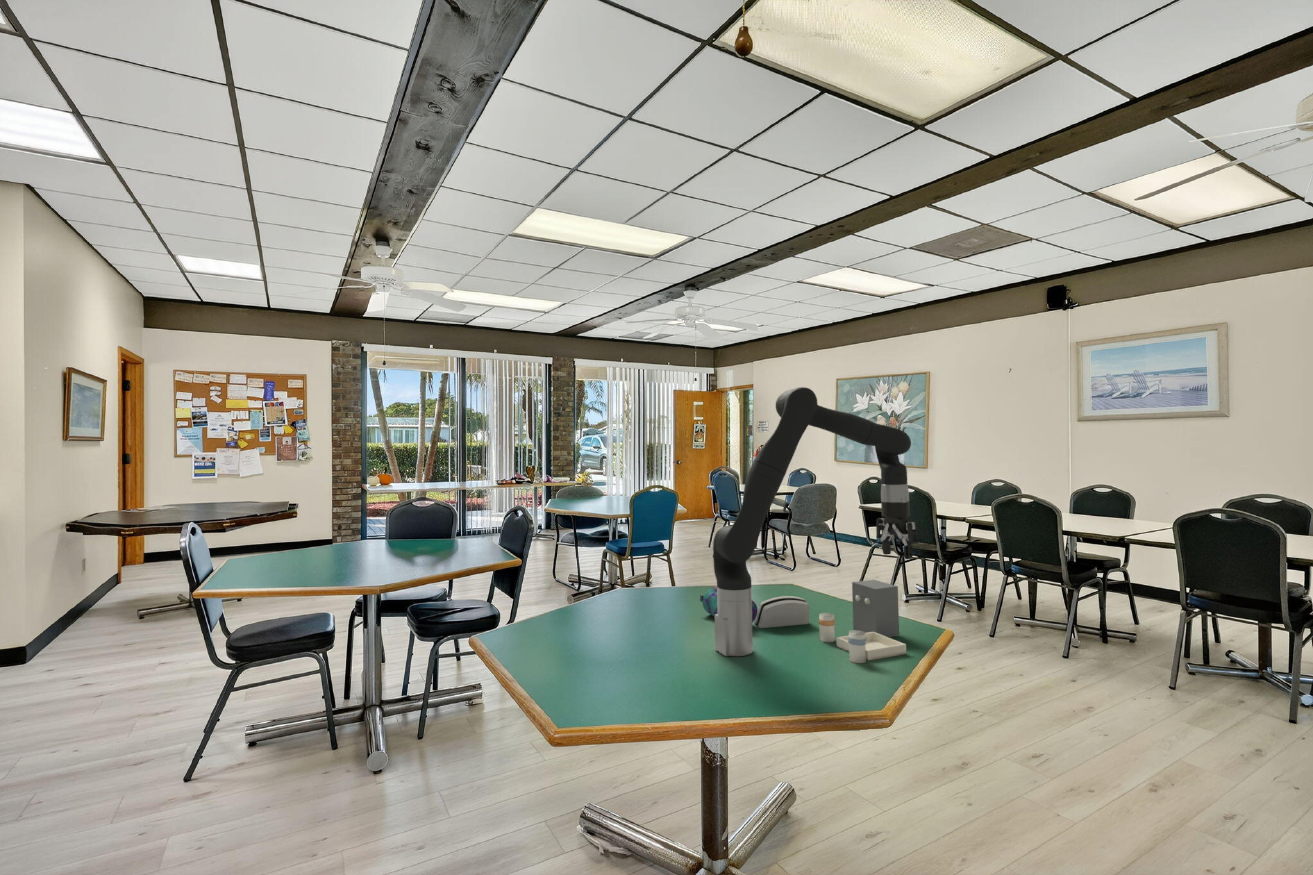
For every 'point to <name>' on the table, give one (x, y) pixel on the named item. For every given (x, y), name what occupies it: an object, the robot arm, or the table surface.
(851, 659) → the blue-band fuse
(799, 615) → the white slotted rounded block
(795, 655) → the table surface
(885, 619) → the control box
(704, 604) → the pencil case
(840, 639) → the parts tray
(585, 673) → the table surface
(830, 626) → the white orange rounded cylinder
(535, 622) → the table surface
